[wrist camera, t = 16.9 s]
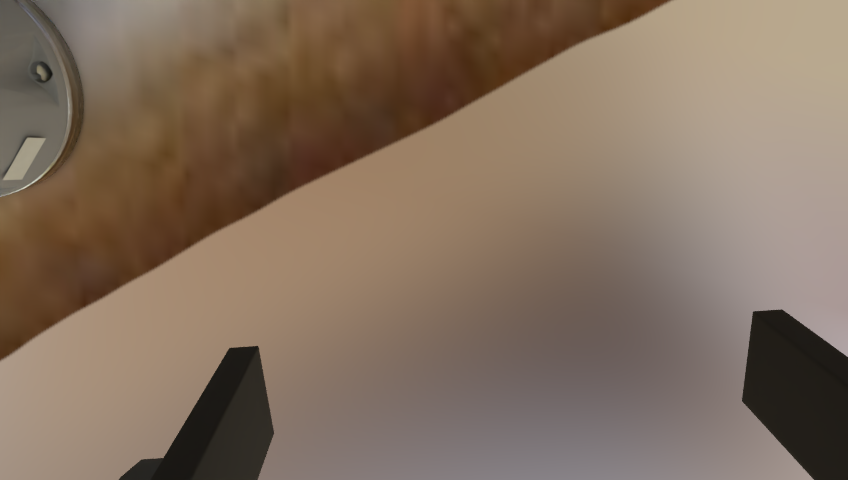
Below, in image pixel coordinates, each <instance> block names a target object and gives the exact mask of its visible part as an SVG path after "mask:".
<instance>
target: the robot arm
mask: <svg viewBox="0 0 848 480" xmlns="http://www.w3.org/2000/svg"><path fill="white" fill-rule="evenodd" d="M82 118H83V94H82V87H81V81H80V77H79V74H78V70H77V67H76V64H75V62H74V59H73V57H72V54H71V52H70V50H69V48H68V46H67V44H66V43H65V41H64V39H63V38H62V36H61V34H60V33H59V32H58V30H57V29H56V27H55V26H54V25H53V23H52V22H51V21H50V20H49V19H48V17H47V16H46V15H45V14H44V13H43V12H42V11H41V10H40V9H39V8H38V7H37V6H36V5H35V4H34V3H33V2H32V1H31V0H0V197H1V196H6V195H9V194H12V193H15V192H18V191H20V190H23V189H26V188H28V187H31V186H33V185H35V184H38V183H40V182H41V181H43V180H45V179H46V178H48V177H49V176H51V175H52V174H53V173H54V172H56V171H57V170H58V169H59V168H60V167H61V166H62V165H63V163H64V162H65V161H66V160H67V158H68V157H69V155H70V154H71V152H72V150H73V148H74V146H75V144H76V142H77V139H78V136H79V133H80V129H81V125H82ZM742 401H743V403H744V404H745V405H746V406H747V407H748V408H749V409H750V410H751V411H752V412H753V413H754V415H755V416H756V417H757V418H758V419H759V420H760V421H761V422H762V423H763V424H764V425H765V426H766V428H767V429H768V430H769V431H770V432H771V433H772V434H773V435H774V436H775V437H776V439H777V440H778V441H779V442H780V443H781V444H782V445H783V446H784V447H785V448H786V449H787V451H788V452H789V453H790V454H791V455H792V456H793V457H794V458H795V459H796V460H797V462H798V463H799V464H800V465H801V466H802V467H803V468H804V469H805V470H806V471H807V472H808V473H809V475H810V476H811V477H812V478H813V479H814V480H848V357H847V356H845V355H844V354H843V353H841V352H840V351H838V350H837V349H836V348H834V347H833V346H832V345H830V344H829V343H828V342H826V341H824V340H823V339H822V338H821V337H819V336H818V335H816V334H815V333H814V332H812V331H811V330H810V329H808V328H807V327H805V326H804V325H803V324H801V323H800V322H799V321H797V320H796V319H794V318H793V317H792V316H790V315H789V314H788V313H786V312H785V311H783V310H768V311H755V312H753V316H752V325H751V332H750V341H749V349H748V357H747V366H746V373H745V381H744V389H743V398H742ZM273 434H274V431H273V425H272V419H271V415H270V408H269V403H268V397H267V392H266V387H265V381H264V376H263V369H262V364H261V359H260V353H259V348H258V346H253V347H238V348H229V350H228V352H227V353H226V355H225V357H224V358H223V360H222V361H221V363H220V365H219V367H218V368H217V370H216V371H215V373H214V375H213V376H212V378H211V380H210V382H209V383H208V385H207V386H206V388H205V390H204V392H203V393H202V395H201V397H200V398H199V400H198V401H197V403H196V405H195V406H194V408H193V410H192V412H191V413H190V415H189V417H188V418H187V420H186V421H185V423H184V425H183V426H182V428H181V430H180V431H179V433H178V435H177V436H176V438H175V440H174V441H173V443H172V445H171V446H170V448H169V450H168V452H167V453H166V455H165V456H164V458H158V459H144V460H141V461H139V462H138V463H137V464H136V465H135V466H133V467H132V468H131V469H130V470H129V471H127V472H126V473H125V474H124V475H123V476H121V478H120V479H119V480H257V479H258V476H259V474H260V471H261V468H262V465H263V463H264V460H265V457H266V454H267V451H268V448H269V445H270V443H271V440H272V437H273Z"/></svg>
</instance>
